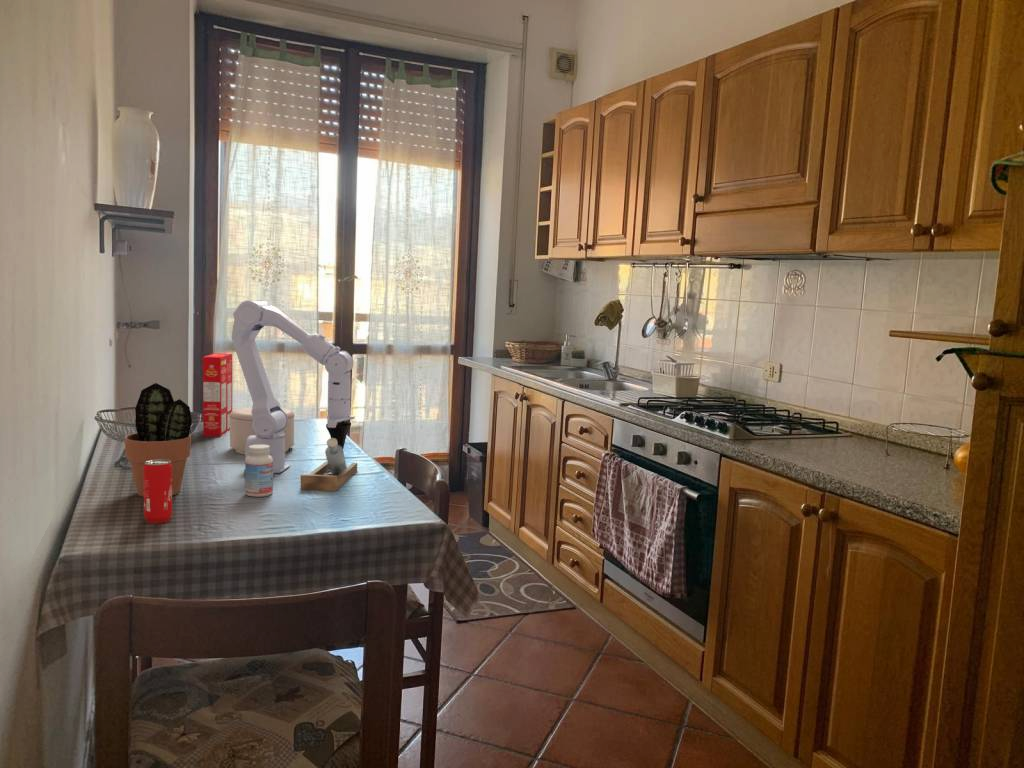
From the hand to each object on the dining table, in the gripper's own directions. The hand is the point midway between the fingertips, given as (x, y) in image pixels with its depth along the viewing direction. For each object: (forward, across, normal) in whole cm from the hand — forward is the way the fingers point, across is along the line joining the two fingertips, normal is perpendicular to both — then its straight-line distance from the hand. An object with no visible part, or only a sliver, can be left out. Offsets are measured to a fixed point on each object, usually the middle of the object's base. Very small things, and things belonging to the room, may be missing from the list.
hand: (338, 450), depth 200 cm
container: (+6, +24, +29) cm, 38 cm away
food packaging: (+6, +48, +52) cm, 71 cm away
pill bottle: (+6, -24, +12) cm, 27 cm away
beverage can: (+6, -47, +24) cm, 53 cm away
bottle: (+5, 0, 0) cm, 5 cm away
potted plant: (+6, -27, +34) cm, 44 cm away
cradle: (+6, -7, 0) cm, 9 cm away
